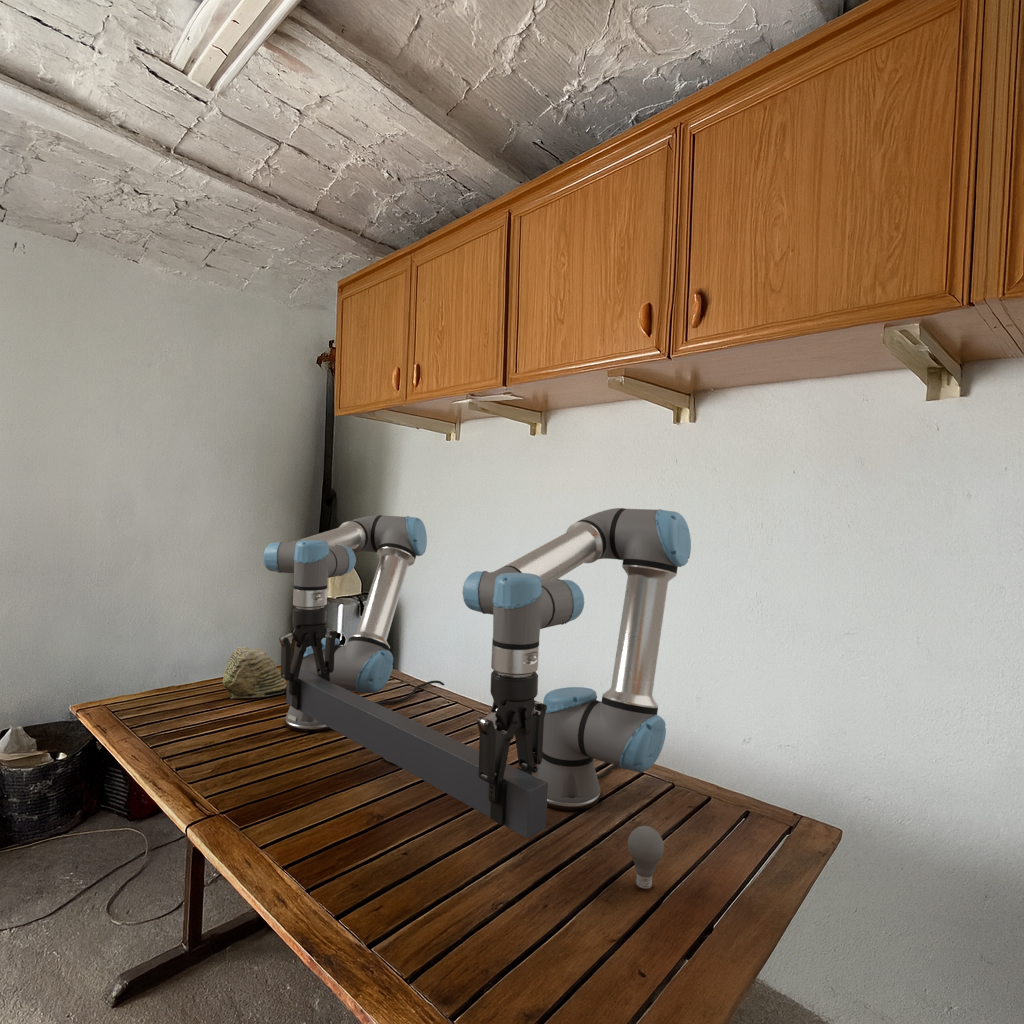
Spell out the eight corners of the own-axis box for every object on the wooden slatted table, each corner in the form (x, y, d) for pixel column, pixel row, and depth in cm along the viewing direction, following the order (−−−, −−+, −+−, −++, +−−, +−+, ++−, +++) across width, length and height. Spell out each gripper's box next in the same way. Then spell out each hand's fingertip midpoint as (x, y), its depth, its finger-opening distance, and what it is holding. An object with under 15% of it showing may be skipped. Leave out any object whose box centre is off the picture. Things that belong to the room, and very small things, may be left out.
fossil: (218, 695, 195) (220, 647, 195) (278, 685, 208) (279, 640, 207) (228, 703, 189) (230, 653, 188) (289, 692, 201) (290, 645, 201)
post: (286, 703, 151) (286, 673, 150) (303, 699, 154) (304, 669, 154) (526, 838, 96) (528, 791, 95) (546, 828, 99) (548, 782, 98)
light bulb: (621, 876, 110) (624, 818, 109) (655, 875, 110) (658, 819, 110) (631, 897, 104) (634, 837, 103) (666, 897, 104) (669, 837, 104)
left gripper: (279, 612, 139) (276, 718, 139) (352, 605, 151) (348, 702, 151) (265, 607, 144) (262, 709, 145) (336, 601, 156) (333, 694, 157)
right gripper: (489, 687, 92) (484, 845, 92) (568, 667, 104) (563, 807, 105) (456, 675, 97) (451, 825, 98) (535, 657, 109) (530, 790, 110)
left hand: (306, 705), depth 148 cm, fingers closed on post, 5 cm apart
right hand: (509, 815), depth 101 cm, fingers closed on post, 4 cm apart
